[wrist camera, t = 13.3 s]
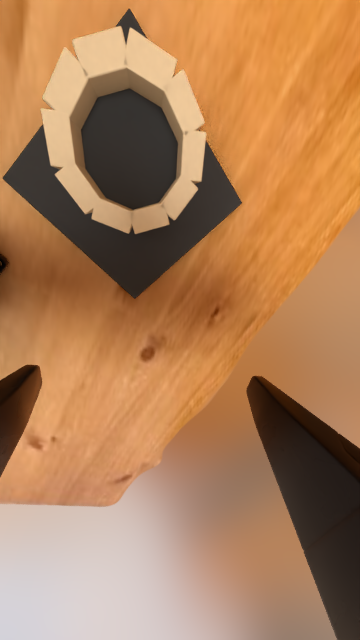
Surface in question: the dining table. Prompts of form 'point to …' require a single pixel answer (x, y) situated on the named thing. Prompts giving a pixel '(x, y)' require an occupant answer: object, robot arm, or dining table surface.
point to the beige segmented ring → (109, 77)
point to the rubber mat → (126, 186)
